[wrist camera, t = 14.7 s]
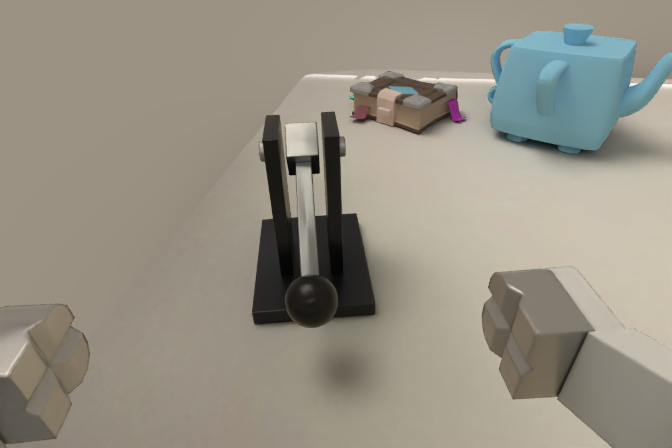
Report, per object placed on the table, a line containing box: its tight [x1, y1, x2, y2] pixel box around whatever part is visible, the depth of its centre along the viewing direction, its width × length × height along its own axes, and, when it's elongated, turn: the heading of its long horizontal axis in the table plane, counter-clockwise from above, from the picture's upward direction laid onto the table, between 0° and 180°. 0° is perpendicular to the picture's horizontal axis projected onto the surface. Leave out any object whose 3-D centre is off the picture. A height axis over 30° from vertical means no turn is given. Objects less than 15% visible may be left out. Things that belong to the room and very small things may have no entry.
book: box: [349, 71, 466, 134], centre depth 64 cm, size 20×12×5 cm, turn 48°
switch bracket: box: [252, 112, 375, 324], centre depth 33 cm, size 12×9×13 cm
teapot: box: [488, 23, 672, 153], centre depth 54 cm, size 18×16×14 cm
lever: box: [285, 122, 338, 328], centre depth 28 cm, size 14×3×3 cm, turn 5°
